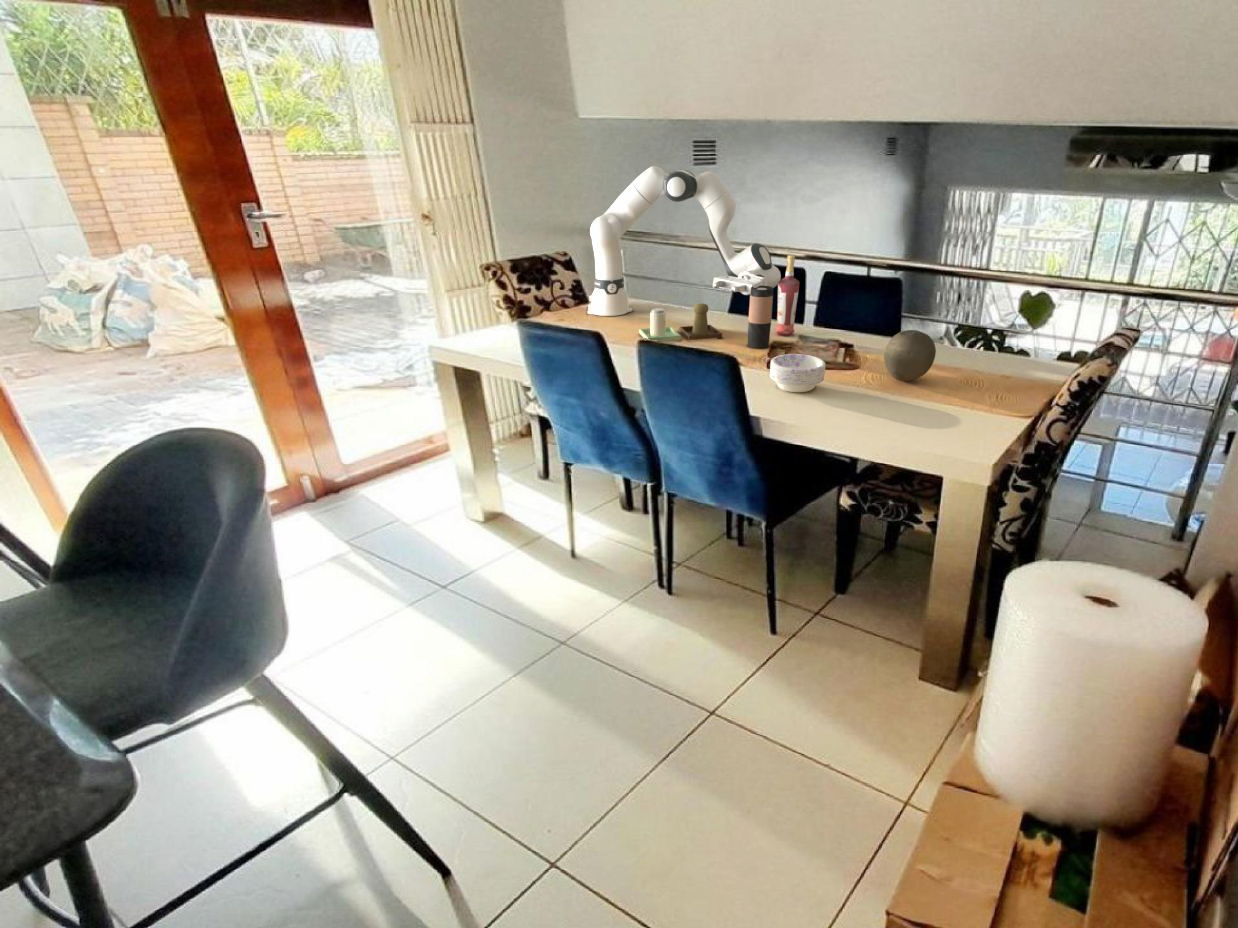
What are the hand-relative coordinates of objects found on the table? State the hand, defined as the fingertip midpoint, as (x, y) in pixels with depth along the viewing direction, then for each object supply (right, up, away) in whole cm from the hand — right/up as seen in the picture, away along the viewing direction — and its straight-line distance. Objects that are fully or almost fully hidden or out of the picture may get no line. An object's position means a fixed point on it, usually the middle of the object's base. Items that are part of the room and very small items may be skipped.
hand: (723, 287), depth 258 cm
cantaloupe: (+46, -41, -52) cm, 80 cm away
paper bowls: (+13, -43, -55) cm, 71 cm away
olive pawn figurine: (-9, -17, 0) cm, 19 cm away
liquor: (+22, -18, -1) cm, 28 cm away
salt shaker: (-24, -19, -3) cm, 31 cm away
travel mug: (+10, -24, -15) cm, 30 cm away
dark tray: (-9, -18, 0) cm, 20 cm away
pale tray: (-24, -19, -2) cm, 30 cm away
